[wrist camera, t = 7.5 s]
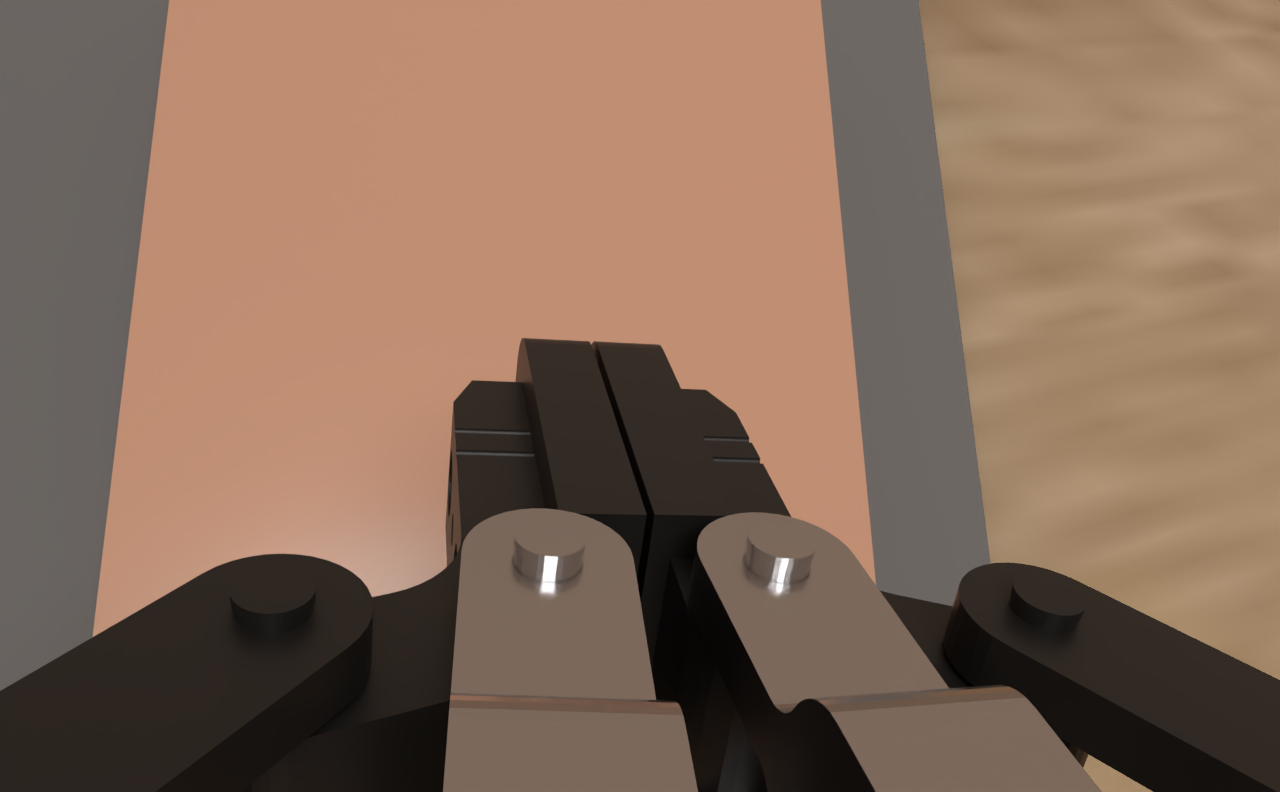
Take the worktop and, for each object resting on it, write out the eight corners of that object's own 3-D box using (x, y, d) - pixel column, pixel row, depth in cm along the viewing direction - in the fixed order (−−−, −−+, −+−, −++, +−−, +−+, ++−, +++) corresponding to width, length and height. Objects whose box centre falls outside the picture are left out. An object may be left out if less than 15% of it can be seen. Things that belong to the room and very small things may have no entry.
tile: (820, 797, 21) (765, 53, 26) (896, 799, 18) (816, -44, 23) (120, 823, 19) (209, -6, 24) (69, 829, 15) (183, -124, 21)
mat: (900, -45, 29) (910, -62, 28) (995, 722, 23) (1010, 720, 22) (31, -157, 25) (23, -179, 24) (-126, 747, 19) (-143, 745, 18)
